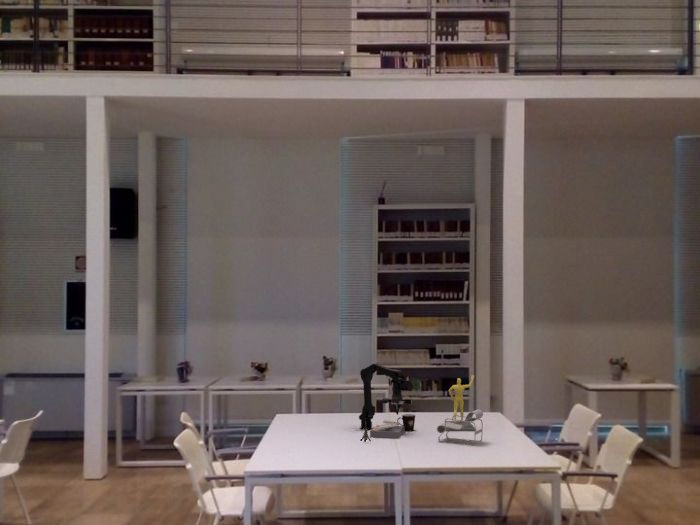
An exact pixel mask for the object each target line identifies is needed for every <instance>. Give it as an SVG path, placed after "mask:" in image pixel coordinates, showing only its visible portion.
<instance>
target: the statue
mask: <svg viewBox="0 0 700 525" xmlns="http://www.w3.org/2000/svg"><path fill="white" fill-rule="evenodd" d="M470 378H471V380H470V382H469V384H461V383H462V379H461V378H460V377H458V378H456V380H457V381H456V384H452V386H451V387H450V388H449V389H448V393H449V395H450V397H451V401H452V402H453V416H454V415H457V414H458V413H457V411H458V408H459V411H460V414H459V416H464V415H465V413H464V403H465V402H464V396H463V393H464V391H465V389H468V388H470V387H472V385H473V381H474V379H475V375H471V377H470ZM452 390H454V393H455V394H454V395H453V394H452ZM456 418H457V416H454V418H453V419H456ZM460 419H461V420H462V421H457V419H456V420H453V422H452V420H446V423H447V422H450V423H454V424H459V425H463V423H464V422H463V421H464V417H460ZM447 428H449V427H446V429H447ZM448 431H449V430H447V431H446V432H448ZM449 432H475V426H474V424H473V423H469V425H468V426H466V427H464V428H462V429H453V428H452V429H451V430H450V431H449Z"/></svg>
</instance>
